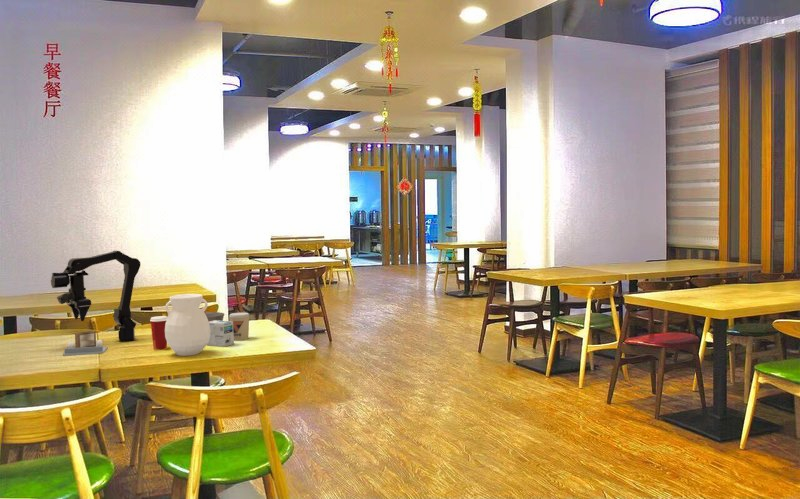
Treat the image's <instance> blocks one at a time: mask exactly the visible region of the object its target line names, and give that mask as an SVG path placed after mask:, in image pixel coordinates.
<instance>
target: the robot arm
mask: <svg viewBox="0 0 800 499" xmlns="http://www.w3.org/2000/svg"><path fill="white" fill-rule="evenodd" d="M114 260H116V261H117V262H118V263H120V264H121V265H123V274H124V278H123V279H124V280H123V284H122V290H121V296H120V302H119V305H118V307H117V308H114V309H113V315H112V318H113V322H114V323H116V324H117V326H118V327H119V330H118V334H117V335H118V340H119V342H133V341H135V340H136V334H135V331H136V330H135V328H136V327H137V323H136V322H135V321H134V320H132V313H131V303H132V302H131V301H132V294H133V289H134V286H135V285H134V283H135V278H136V276H137V274H138V273H139V271H140V268H141V261H140V259H138V258H135V257H132V256H129V255H127V254H125V253H123V252H121V251H120V250H112V251H110V252H105V253H101V254H97V255H92V256H89V257H75V258H70V259H69V260H68V262H67V266H66V268H65V269H64V271H63V272H52V273H51V279H50V284H51V288H52V289H58V288H60V289H61V288H67V287H68V286H70V288H68V291H67V292H65V293H63V294H60V295H57V296H56V300H57V301H58V303H59V304H61V305H63V304H66V305H67V306H68V307H70V308H71V312H72V314H73V317H74V319H75V320H78V319H79V318H80V321H81V322H84V321H85V319H86V316H87V314H88V312H89V310H90V308H91V306H92V300H91V299H90V298H87V296H86V295H85V293H86V292H85V291H86V287H85V281H84V280H85V279H84V278H85V276H89V275H90V274H89V273H88V272H86V269H88V268H89V267H92V266H95V265H98V264H102V263H106V262H111V261H114Z"/></svg>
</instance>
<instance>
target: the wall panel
mask: <svg viewBox="0 0 800 499" xmlns="http://www.w3.org/2000/svg"><path fill="white" fill-rule="evenodd" d="M103 345H104V344H103V340H102V339H98V340H97V339H96V347H82V348H76V347H75V342H74V341H68V342H67V348H64V350H63V351H64V352H63V353H62V356H63V357H65V356H66V357H69V356H81V355H83V356H84V355H98V354H99V355H100V354H104V353H105V352H106V351H107V349H108V346H103Z"/></svg>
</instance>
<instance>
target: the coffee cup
mask: <svg viewBox="0 0 800 499" xmlns="http://www.w3.org/2000/svg"><path fill="white" fill-rule="evenodd" d="M228 318H229V321H233V333H234V341H246V340H248V339H249V334H250V333H249V330H250V328H249V327H250V326H249V325H250V314H249V313H248V312H234V313H233V312H232V313H230V314H229V316H228ZM245 339H246V340H245Z"/></svg>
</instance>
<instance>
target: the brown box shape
mask: <svg viewBox="0 0 800 499" xmlns="http://www.w3.org/2000/svg"><path fill="white" fill-rule="evenodd" d="M74 341H75V342H74V348H82V347H97V342H96V341H97V333H96V331H94V330H91V331H83V332H76V333H74Z"/></svg>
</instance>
